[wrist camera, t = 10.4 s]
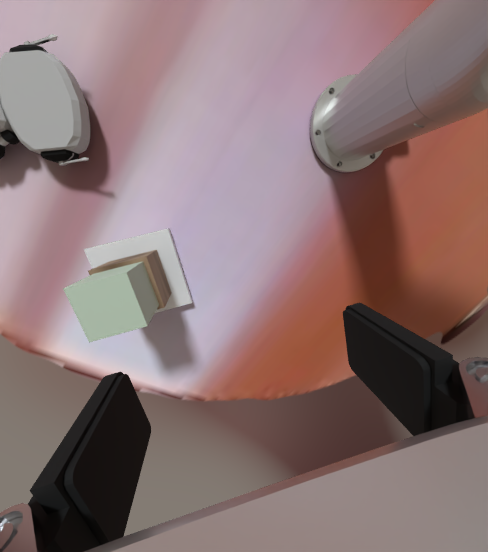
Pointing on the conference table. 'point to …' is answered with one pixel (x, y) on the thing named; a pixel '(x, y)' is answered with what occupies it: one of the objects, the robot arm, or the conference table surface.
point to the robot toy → (42, 104)
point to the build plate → (143, 244)
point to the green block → (113, 301)
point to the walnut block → (153, 270)
